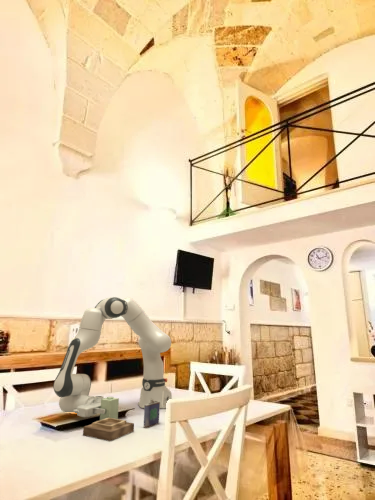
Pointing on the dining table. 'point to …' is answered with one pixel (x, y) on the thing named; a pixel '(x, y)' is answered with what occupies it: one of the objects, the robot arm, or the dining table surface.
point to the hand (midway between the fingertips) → (110, 409)
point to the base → (108, 429)
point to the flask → (151, 413)
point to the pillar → (110, 407)
